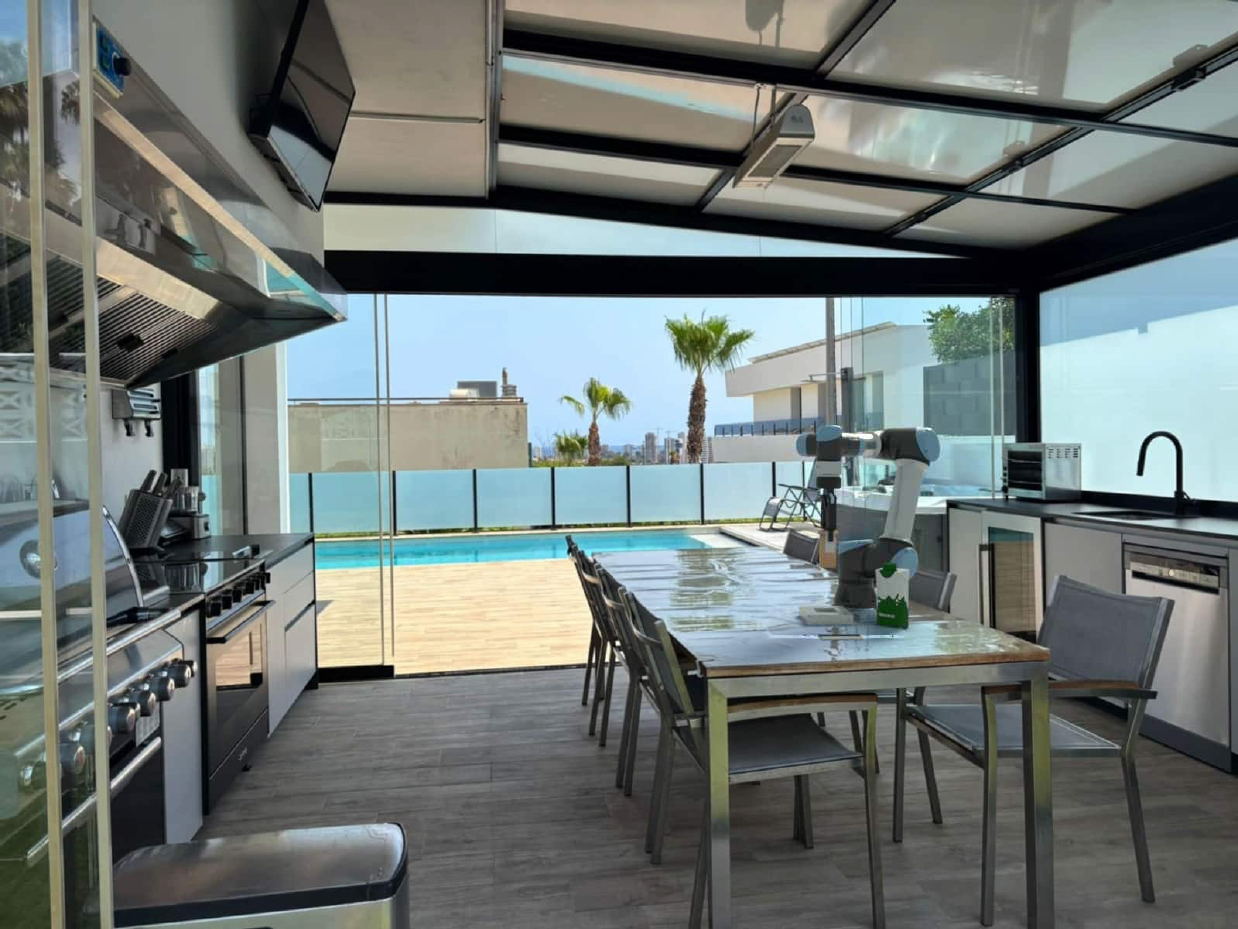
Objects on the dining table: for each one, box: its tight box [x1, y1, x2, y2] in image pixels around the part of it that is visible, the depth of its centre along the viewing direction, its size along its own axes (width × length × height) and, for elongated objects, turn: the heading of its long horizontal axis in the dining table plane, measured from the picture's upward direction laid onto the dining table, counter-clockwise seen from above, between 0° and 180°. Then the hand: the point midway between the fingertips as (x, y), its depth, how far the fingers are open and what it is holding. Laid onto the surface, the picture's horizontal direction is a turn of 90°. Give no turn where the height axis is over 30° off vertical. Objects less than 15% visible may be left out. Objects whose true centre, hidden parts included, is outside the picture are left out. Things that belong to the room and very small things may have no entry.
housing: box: [798, 605, 855, 626], centre depth 263 cm, size 14×14×4 cm
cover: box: [817, 529, 839, 569], centre depth 256 cm, size 6×6×11 cm
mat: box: [816, 633, 865, 641], centre depth 246 cm, size 12×12×1 cm
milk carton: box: [875, 563, 910, 630], centre depth 256 cm, size 9×9×20 cm
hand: (827, 551), depth 256 cm, fingers closed on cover, 6 cm apart
